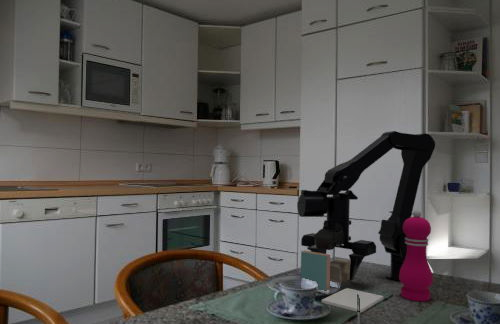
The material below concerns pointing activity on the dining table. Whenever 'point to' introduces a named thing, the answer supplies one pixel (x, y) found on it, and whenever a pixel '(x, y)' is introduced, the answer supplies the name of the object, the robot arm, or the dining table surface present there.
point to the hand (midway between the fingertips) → (336, 277)
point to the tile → (316, 268)
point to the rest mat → (352, 299)
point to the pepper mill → (416, 260)
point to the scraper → (339, 270)
